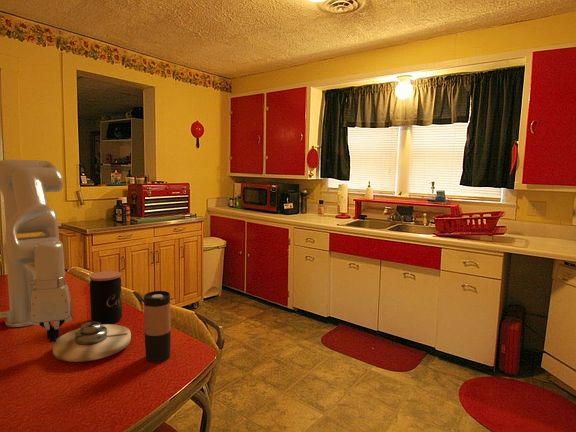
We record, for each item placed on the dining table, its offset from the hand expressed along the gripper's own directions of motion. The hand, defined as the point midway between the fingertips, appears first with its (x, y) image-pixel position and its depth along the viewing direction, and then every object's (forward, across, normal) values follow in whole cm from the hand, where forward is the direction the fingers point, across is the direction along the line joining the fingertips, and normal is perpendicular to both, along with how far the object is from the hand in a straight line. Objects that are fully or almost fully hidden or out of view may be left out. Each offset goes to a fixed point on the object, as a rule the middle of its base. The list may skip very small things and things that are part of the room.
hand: (53, 340), depth 115 cm
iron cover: (+1, +10, -1) cm, 10 cm away
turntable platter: (+3, +11, 0) cm, 11 cm away
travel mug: (+5, +30, -13) cm, 33 cm away
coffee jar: (+5, +13, +24) cm, 28 cm away
